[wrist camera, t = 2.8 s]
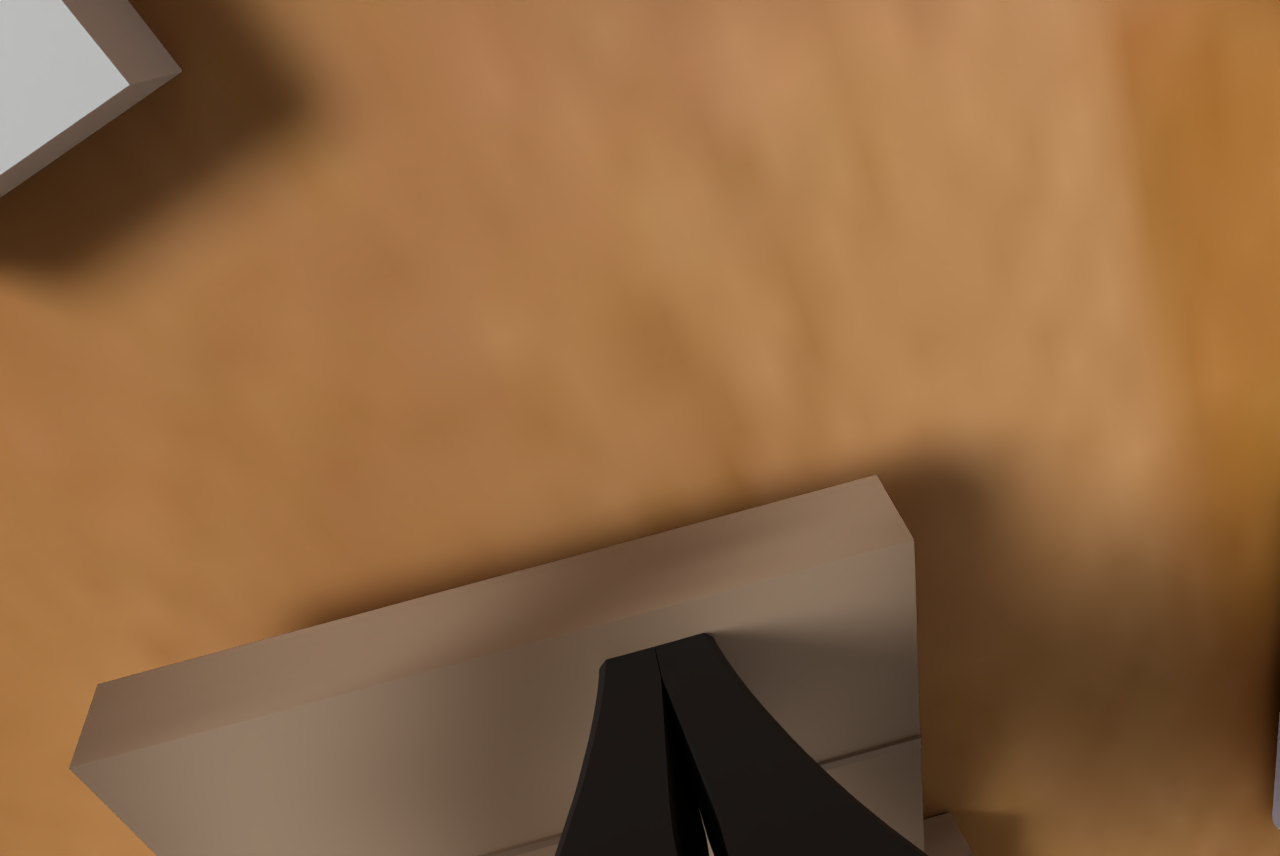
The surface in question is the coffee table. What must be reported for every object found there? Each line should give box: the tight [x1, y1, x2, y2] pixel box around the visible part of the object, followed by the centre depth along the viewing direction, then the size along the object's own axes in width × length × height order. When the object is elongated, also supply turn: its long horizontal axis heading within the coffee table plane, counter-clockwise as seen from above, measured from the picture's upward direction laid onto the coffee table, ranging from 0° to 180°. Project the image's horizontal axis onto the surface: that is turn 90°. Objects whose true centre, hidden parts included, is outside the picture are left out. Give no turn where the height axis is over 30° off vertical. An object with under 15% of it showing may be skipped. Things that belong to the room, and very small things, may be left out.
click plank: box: [69, 475, 924, 856], centre depth 14 cm, size 10×8×1 cm
